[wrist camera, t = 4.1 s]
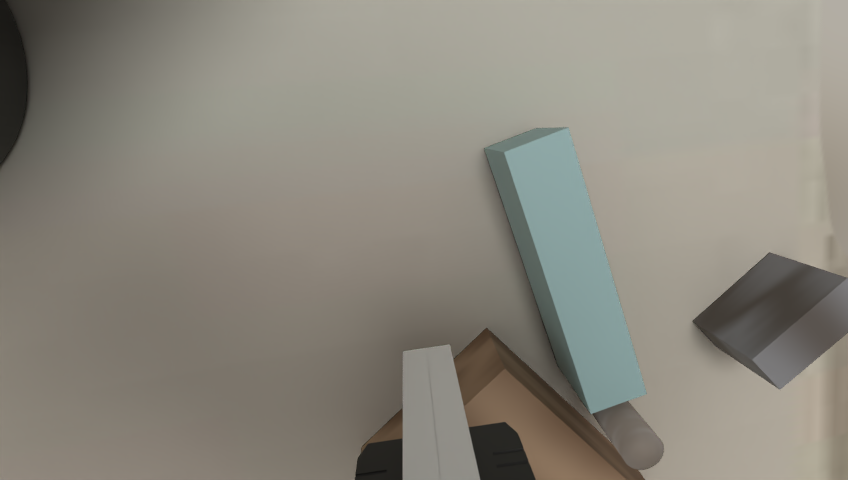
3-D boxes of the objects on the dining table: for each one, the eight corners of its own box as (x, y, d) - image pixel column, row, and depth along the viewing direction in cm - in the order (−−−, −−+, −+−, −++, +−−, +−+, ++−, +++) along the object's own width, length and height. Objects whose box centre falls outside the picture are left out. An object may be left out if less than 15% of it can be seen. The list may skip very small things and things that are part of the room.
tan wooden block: (512, 566, 32) (542, 682, 26) (361, 446, 30) (350, 540, 23) (816, 306, 29) (943, 360, 22) (677, 145, 26) (774, 150, 20)
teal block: (604, 349, 29) (646, 393, 24) (558, 366, 29) (590, 414, 24) (536, 128, 25) (568, 127, 21) (484, 148, 26) (503, 152, 21)
